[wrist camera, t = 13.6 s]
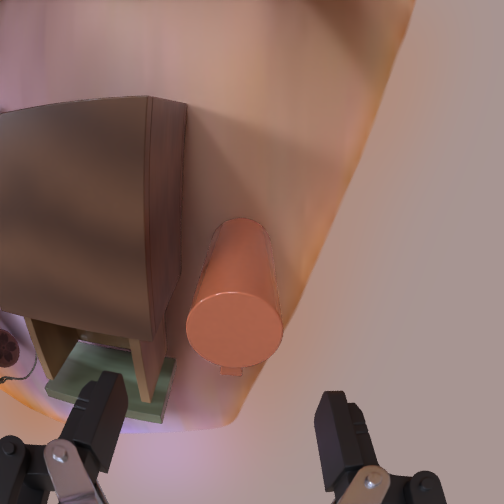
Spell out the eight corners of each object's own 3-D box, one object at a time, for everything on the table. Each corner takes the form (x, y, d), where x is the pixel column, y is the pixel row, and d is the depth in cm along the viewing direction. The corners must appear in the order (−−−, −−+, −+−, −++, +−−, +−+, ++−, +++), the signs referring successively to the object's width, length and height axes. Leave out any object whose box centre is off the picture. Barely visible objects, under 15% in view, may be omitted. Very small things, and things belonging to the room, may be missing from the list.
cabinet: (181, 272, 26) (153, 342, 18) (56, 259, 26) (1, 310, 17) (187, 103, 21) (147, 95, 12) (46, 112, 20) (-29, 120, 12)
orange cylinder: (209, 279, 26) (187, 374, 16) (212, 215, 24) (184, 287, 14) (266, 284, 27) (274, 380, 16) (274, 220, 24) (290, 296, 14)
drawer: (177, 374, 30) (163, 431, 23) (79, 357, 29) (52, 404, 23) (171, 251, 24) (144, 301, 18) (52, 240, 24) (4, 278, 17)
